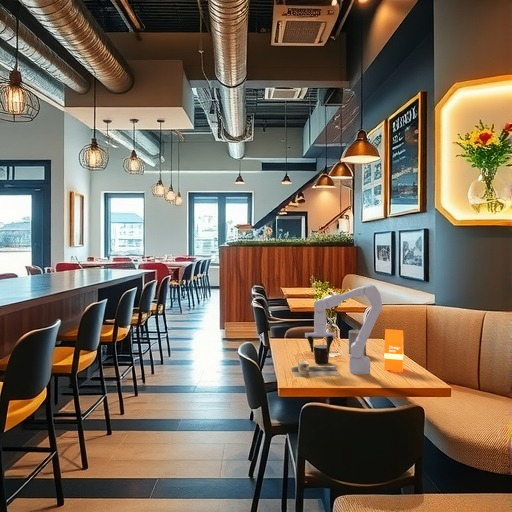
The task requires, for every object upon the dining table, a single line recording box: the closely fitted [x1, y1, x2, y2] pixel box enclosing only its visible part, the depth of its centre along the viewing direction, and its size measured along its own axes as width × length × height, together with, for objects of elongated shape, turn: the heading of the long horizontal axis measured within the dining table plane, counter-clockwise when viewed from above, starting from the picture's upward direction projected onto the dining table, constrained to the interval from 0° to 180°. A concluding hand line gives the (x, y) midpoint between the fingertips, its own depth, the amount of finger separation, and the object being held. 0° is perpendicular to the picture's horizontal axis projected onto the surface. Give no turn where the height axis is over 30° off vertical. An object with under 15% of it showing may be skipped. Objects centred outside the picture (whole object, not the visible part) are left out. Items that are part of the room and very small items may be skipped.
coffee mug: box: [313, 344, 331, 365], centre depth 237 cm, size 12×9×10 cm
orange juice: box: [383, 328, 404, 373], centre depth 230 cm, size 8×9×20 cm
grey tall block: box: [348, 328, 367, 356], centre depth 263 cm, size 10×10×15 cm
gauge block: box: [297, 360, 310, 375], centre depth 216 cm, size 4×8×5 cm, turn 4°
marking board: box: [290, 365, 342, 378], centre depth 217 cm, size 22×12×3 cm, turn 94°
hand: (320, 351), depth 222 cm, fingers open, 7 cm apart
